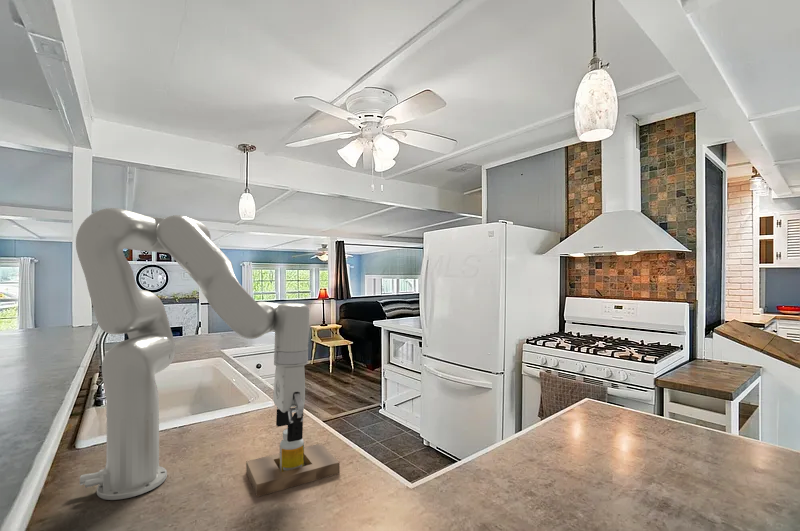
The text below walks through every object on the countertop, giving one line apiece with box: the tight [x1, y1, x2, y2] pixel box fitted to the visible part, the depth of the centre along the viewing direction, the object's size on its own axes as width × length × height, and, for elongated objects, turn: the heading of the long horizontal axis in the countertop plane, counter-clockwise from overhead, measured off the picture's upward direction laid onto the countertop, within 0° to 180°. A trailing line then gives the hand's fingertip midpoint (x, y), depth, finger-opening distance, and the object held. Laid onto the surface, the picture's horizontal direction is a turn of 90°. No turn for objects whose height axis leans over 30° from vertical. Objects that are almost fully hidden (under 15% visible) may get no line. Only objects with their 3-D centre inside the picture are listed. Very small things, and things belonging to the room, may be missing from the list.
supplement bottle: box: [279, 428, 305, 472], centre depth 90 cm, size 5×5×10 cm
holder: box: [245, 442, 341, 498], centre depth 90 cm, size 18×12×2 cm, turn 121°
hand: (288, 432), depth 90 cm, fingers open, 9 cm apart
